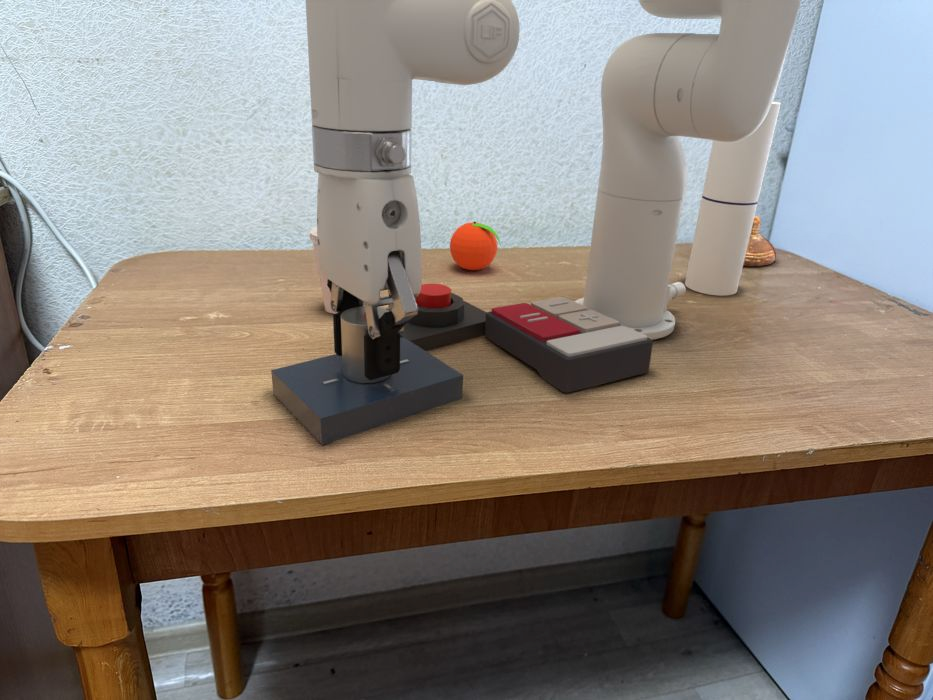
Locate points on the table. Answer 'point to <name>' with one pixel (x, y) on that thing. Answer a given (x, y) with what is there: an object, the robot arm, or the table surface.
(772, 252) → the bell
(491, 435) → the table surface
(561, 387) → the calculator
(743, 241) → the cylindrical container
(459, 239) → the clementine
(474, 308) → the button block
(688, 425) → the table surface
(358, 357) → the knob
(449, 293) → the button
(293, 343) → the table surface
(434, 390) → the panel
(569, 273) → the table surface
